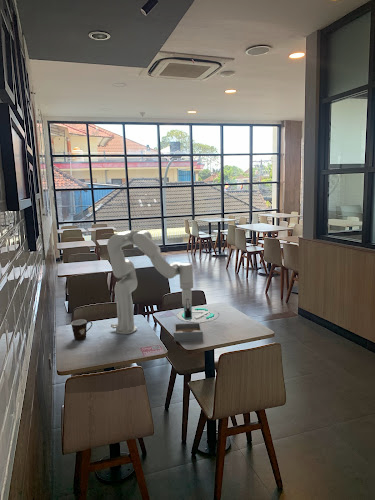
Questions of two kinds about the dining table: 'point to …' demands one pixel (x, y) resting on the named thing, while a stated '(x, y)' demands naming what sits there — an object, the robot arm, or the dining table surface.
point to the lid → (197, 315)
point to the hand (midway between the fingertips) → (188, 315)
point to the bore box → (188, 332)
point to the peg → (189, 310)
